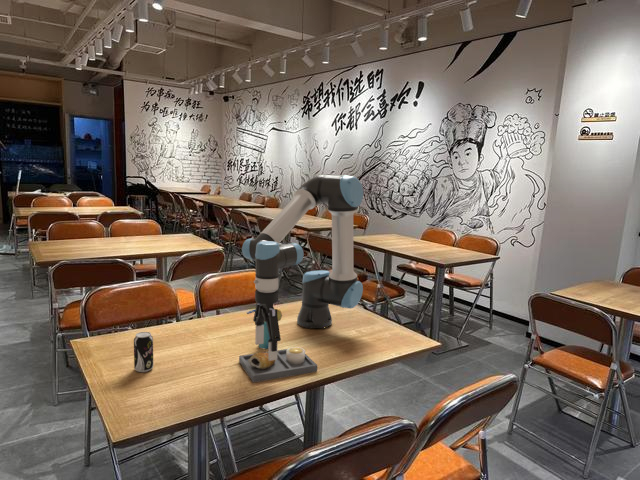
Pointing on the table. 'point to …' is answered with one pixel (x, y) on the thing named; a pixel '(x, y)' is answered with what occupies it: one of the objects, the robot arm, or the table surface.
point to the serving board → (280, 365)
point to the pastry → (261, 360)
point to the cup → (266, 334)
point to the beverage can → (143, 352)
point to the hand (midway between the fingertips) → (265, 351)
